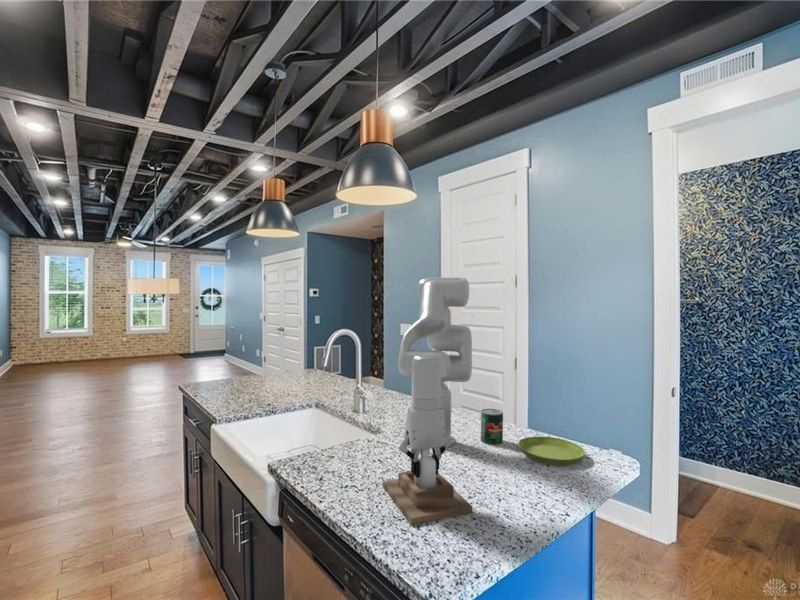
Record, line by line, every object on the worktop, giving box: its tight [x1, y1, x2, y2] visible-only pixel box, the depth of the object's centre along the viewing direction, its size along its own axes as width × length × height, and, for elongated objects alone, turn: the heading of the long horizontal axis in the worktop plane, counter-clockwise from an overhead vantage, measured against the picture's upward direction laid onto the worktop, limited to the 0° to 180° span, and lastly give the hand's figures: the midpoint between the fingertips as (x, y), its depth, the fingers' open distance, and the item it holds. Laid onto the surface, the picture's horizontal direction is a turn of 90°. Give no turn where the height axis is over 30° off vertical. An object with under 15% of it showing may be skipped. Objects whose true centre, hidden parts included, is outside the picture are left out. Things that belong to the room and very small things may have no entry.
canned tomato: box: [480, 408, 504, 446], centre depth 147 cm, size 8×8×11 cm
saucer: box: [517, 436, 586, 467], centre depth 134 cm, size 21×21×3 cm
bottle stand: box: [382, 470, 473, 526], centre depth 103 cm, size 20×16×5 cm
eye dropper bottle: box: [414, 449, 436, 489], centre depth 103 cm, size 4×6×12 cm
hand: (425, 473), depth 103 cm, fingers closed on eye dropper bottle, 4 cm apart
